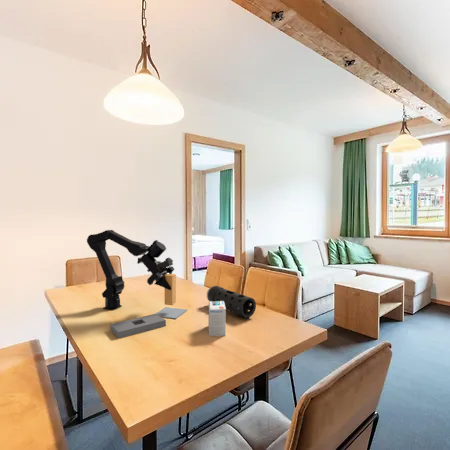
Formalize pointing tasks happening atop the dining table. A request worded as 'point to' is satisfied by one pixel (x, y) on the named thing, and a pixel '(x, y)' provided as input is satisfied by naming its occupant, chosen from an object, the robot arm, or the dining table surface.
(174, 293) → the plug
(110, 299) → the robot arm
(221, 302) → the light bulb box
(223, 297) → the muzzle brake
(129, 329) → the grey square-hole plate
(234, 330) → the dining table surface
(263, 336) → the dining table surface
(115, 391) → the dining table surface
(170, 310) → the mat
